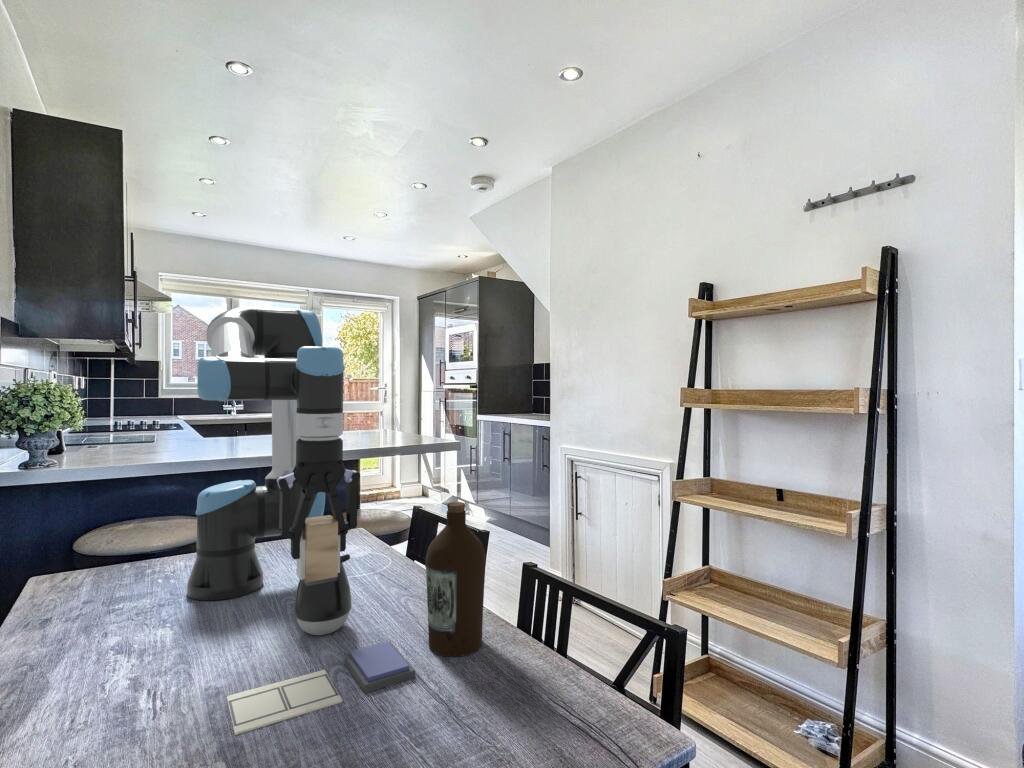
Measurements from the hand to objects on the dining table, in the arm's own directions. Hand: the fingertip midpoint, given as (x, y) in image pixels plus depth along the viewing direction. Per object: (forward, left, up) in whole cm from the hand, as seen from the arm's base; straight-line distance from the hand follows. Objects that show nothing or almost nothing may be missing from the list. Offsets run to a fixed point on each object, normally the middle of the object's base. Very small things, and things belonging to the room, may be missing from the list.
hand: (318, 573), depth 94 cm
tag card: (+11, -8, -14) cm, 19 cm away
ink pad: (+10, +7, -14) cm, 19 cm away
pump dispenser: (-9, +3, -14) cm, 17 cm away
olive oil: (+9, +21, -14) cm, 27 cm away
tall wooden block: (0, 0, -1) cm, 1 cm away
